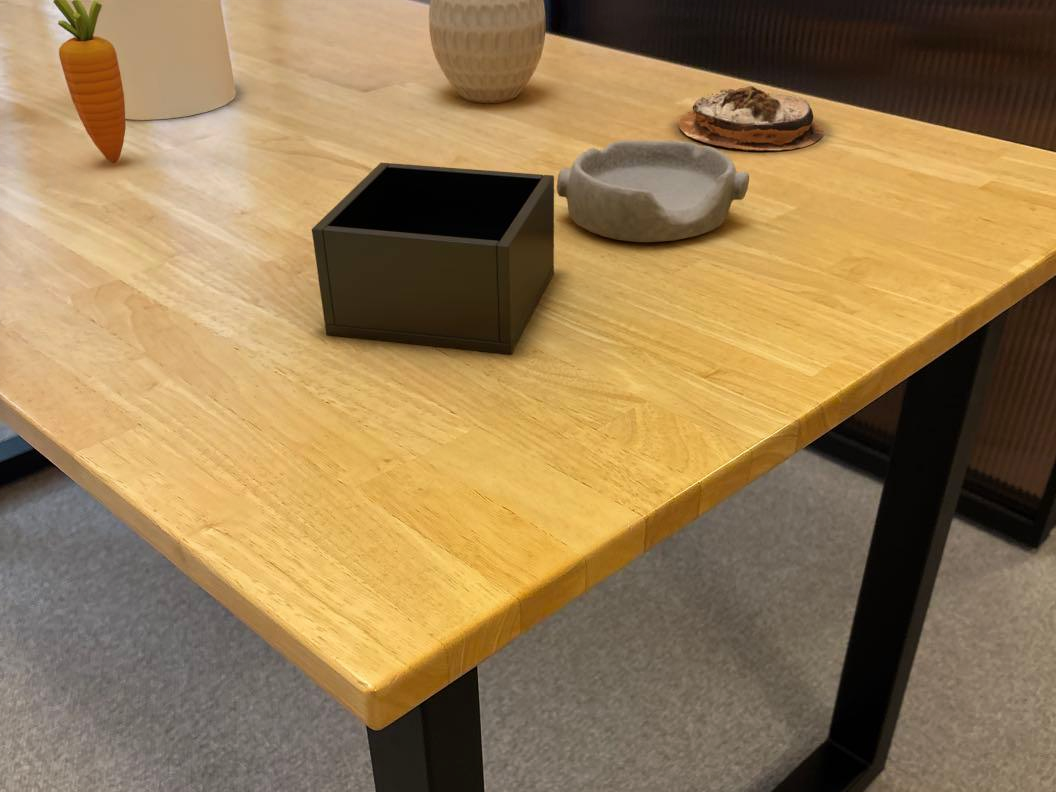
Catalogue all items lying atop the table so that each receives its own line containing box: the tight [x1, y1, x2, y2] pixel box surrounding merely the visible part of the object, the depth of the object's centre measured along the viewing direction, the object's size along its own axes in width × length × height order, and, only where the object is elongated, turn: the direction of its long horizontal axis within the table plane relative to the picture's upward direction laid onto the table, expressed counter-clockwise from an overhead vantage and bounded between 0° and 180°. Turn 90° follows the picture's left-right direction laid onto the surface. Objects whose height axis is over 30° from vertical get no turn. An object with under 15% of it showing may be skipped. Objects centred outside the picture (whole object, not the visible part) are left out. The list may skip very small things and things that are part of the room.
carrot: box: [53, 0, 126, 164], centre depth 101 cm, size 5×5×15 cm
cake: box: [678, 85, 825, 152], centre depth 112 cm, size 15×15×4 cm
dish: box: [556, 140, 750, 243], centre depth 93 cm, size 14×14×5 cm
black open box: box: [311, 162, 555, 355], centre depth 78 cm, size 14×14×8 cm
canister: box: [66, 0, 237, 121], centre depth 117 cm, size 16×16×20 cm
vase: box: [428, 0, 547, 104], centre depth 119 cm, size 13×13×17 cm
